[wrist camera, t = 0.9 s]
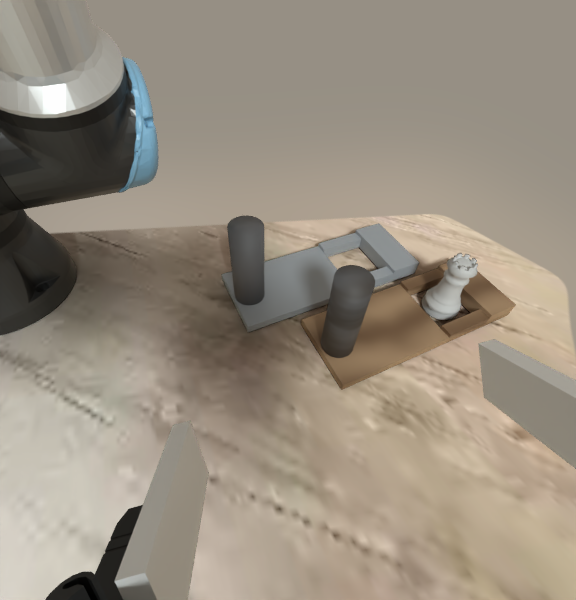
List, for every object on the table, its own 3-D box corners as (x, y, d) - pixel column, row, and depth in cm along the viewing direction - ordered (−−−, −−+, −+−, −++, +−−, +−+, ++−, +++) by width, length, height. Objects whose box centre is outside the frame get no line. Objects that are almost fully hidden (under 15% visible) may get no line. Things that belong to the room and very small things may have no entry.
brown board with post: (301, 324, 41) (309, 253, 32) (455, 268, 48) (494, 198, 40) (341, 389, 36) (364, 324, 27) (507, 315, 43) (564, 246, 35)
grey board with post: (222, 279, 45) (212, 206, 36) (375, 234, 52) (396, 164, 44) (248, 332, 40) (243, 260, 31) (414, 273, 47) (445, 203, 39)
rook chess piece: (426, 322, 42) (453, 275, 36) (415, 295, 45) (438, 247, 39) (462, 322, 42) (495, 275, 36) (449, 294, 45) (477, 247, 39)
